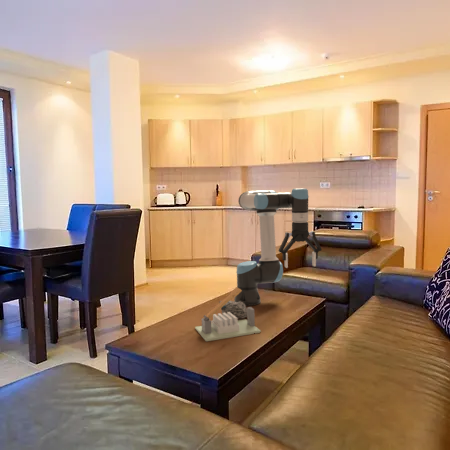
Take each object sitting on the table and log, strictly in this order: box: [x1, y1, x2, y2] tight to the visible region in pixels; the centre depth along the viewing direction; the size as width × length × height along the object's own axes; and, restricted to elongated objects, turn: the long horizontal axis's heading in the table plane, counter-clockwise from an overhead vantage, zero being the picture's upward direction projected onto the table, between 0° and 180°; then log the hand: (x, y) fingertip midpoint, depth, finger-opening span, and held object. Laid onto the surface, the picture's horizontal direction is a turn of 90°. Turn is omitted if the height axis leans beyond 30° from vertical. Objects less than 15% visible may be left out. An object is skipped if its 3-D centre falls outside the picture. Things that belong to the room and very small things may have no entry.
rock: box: [218, 300, 247, 320], centre depth 198 cm, size 16×8×10 cm, turn 60°
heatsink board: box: [194, 306, 262, 342], centre depth 179 cm, size 17×26×9 cm, turn 110°
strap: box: [203, 286, 242, 321], centre depth 177 cm, size 21×5×1 cm
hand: (300, 266), depth 182 cm, fingers open, 13 cm apart
